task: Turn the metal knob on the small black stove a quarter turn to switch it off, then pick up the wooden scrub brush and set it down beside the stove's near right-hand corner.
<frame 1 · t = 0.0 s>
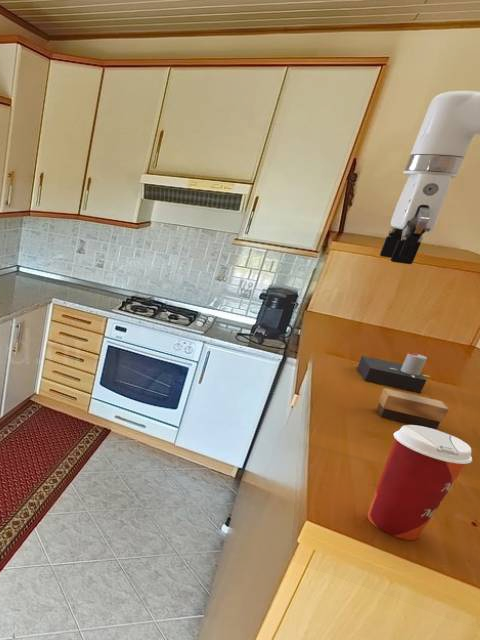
hand: (394, 259, 96), 31 cm above the worktop, tool pointing down, fingers open, 9 cm apart
paper cup: (391, 526, 67), on the worktop
brush: (405, 419, 101), on the worktop
stove knob: (413, 363, 119), point 6 cm above the worktop, hinge at 0.0°
stove: (387, 379, 124), on the worktop
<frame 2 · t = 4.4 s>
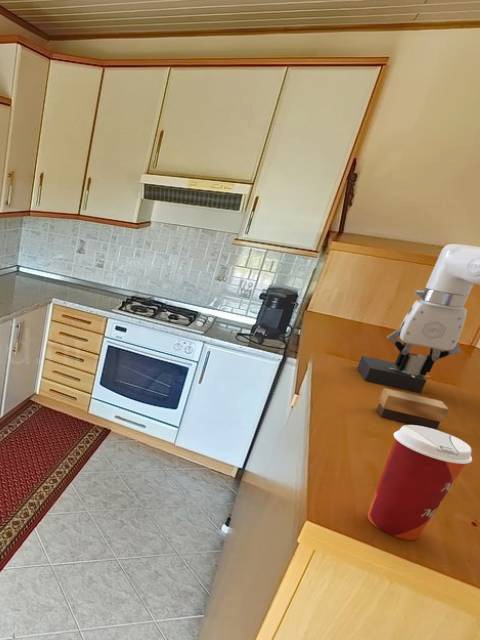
hand: (410, 370, 119), 4 cm above the worktop, tool pointing down, fingers closed on stove knob, 3 cm apart
stove knob: (413, 363, 119), point 6 cm above the worktop, hinge at 0.1°, touching gripper
everything else where it was.
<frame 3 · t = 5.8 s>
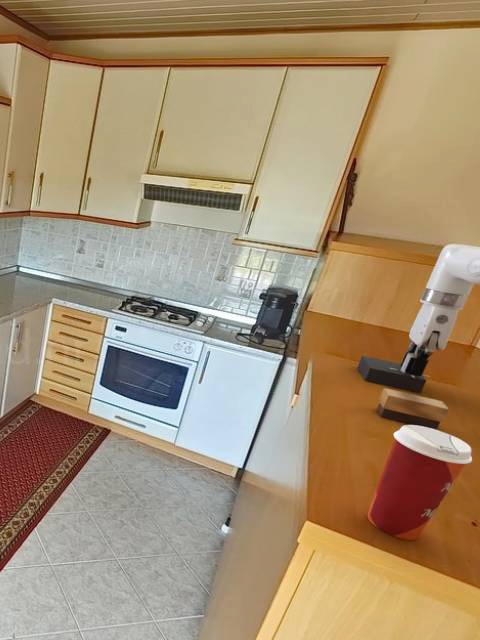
hand: (410, 370, 119), 4 cm above the worktop, tool pointing down, fingers closed on stove knob, 3 cm apart
stove knob: (413, 363, 119), point 6 cm above the worktop, hinge at 90.0°, touching gripper
everything else where it was.
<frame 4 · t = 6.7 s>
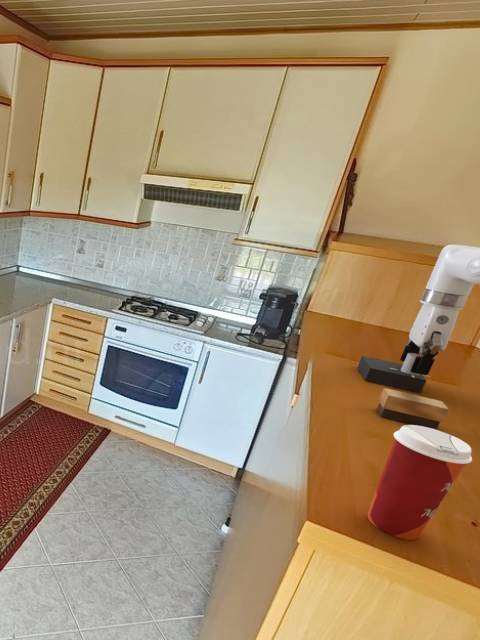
hand: (412, 367, 119), 5 cm above the worktop, tool pointing down, fingers open, 9 cm apart
stove knob: (413, 363, 119), point 6 cm above the worktop, hinge at 88.8°
everything else where it was.
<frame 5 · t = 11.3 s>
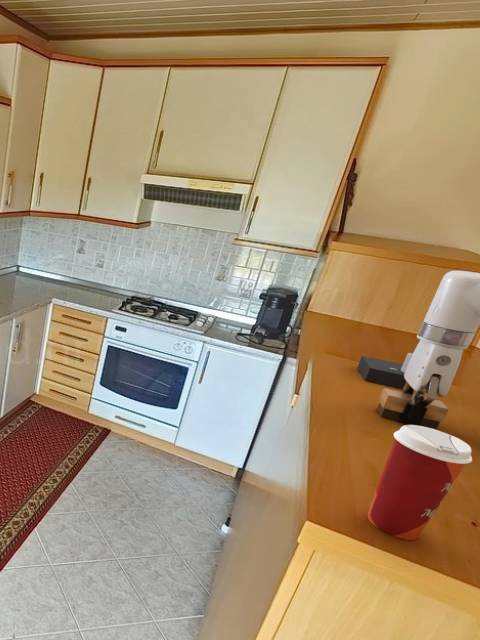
hand: (406, 417, 101), 1 cm above the worktop, tool pointing down, fingers closed on brush, 4 cm apart
brush: (405, 419, 101), on the worktop, touching gripper
everything else where it was.
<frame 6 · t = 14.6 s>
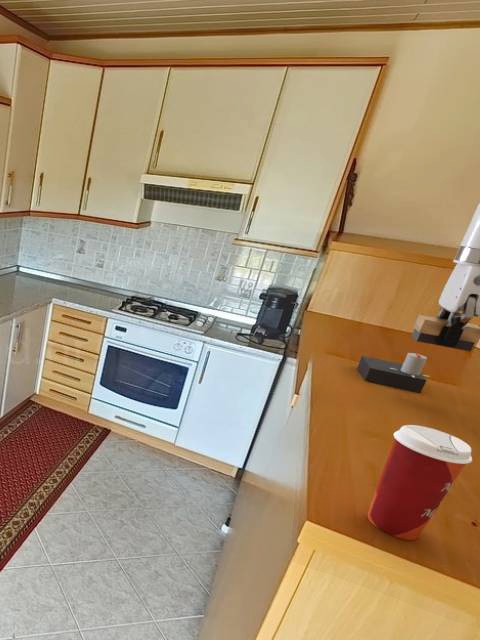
hand: (441, 341, 106), 15 cm above the worktop, tool pointing down, fingers closed on brush, 4 cm apart
brush: (440, 343, 106), point 14 cm above the worktop, touching gripper
everything else where it was.
when the fingers open (1 cm above the worktop, at t = 18.2 s): brush stays where it is, on the worktop.
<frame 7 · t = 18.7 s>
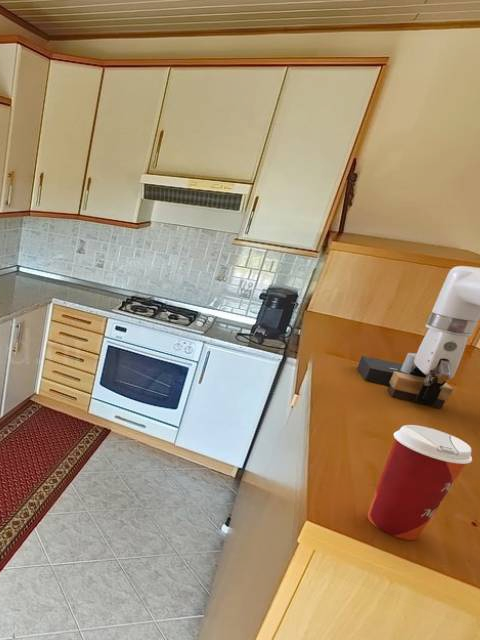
hand: (418, 395, 112), 1 cm above the worktop, tool pointing down, fingers open, 9 cm apart
brush: (413, 399, 113), on the worktop
everything else where it was.
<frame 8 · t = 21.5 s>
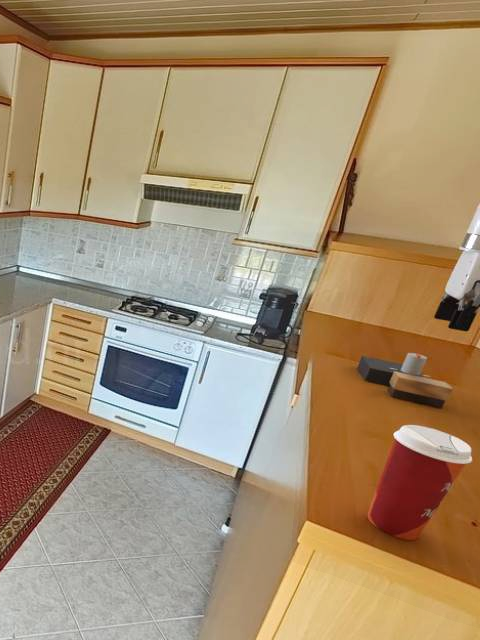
hand: (449, 324, 106), 18 cm above the worktop, tool pointing down, fingers open, 9 cm apart
nothing on the worktop moved.
at the end: stove knob at +89° (first picture: +0°); brush inside the target area on the worktop beside the stove (0.8 cm from its centre), on the worktop; brush tilted 0° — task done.
